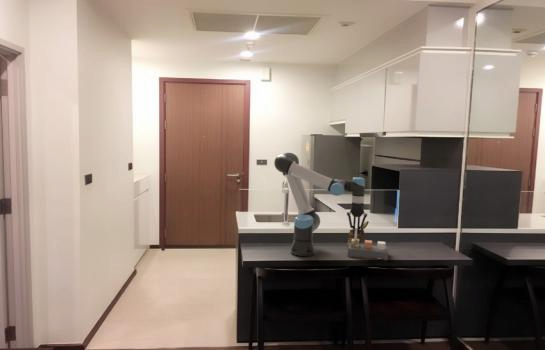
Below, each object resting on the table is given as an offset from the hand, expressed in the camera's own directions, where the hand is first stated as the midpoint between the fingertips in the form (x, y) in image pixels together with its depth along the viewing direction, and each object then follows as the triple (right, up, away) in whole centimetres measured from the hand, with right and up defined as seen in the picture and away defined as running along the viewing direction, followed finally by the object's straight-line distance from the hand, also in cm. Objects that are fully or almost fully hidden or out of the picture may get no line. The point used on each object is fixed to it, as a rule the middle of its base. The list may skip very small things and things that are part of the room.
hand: (355, 238), depth 254 cm
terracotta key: (+8, -6, -1) cm, 10 cm away
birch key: (0, -6, +1) cm, 6 cm away
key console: (+7, -10, 0) cm, 13 cm away
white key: (+15, -7, -3) cm, 17 cm away
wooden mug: (+4, -8, +16) cm, 18 cm away
